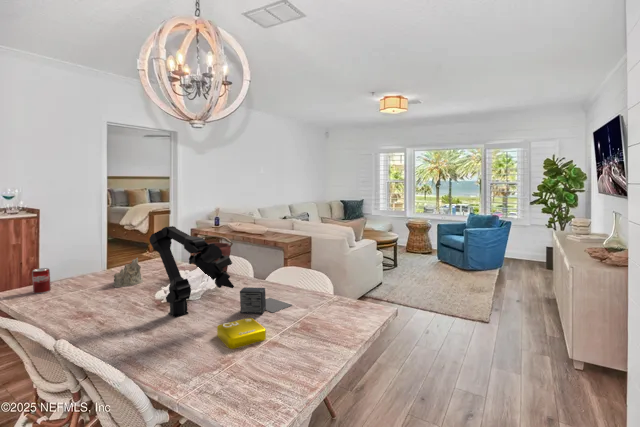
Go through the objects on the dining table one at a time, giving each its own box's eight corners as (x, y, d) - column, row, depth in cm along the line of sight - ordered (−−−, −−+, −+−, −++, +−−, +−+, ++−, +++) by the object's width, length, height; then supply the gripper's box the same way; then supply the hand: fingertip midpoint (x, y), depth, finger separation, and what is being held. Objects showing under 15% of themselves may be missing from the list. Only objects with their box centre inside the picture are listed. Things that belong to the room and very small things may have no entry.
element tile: (230, 351, 126) (229, 338, 125) (215, 335, 138) (215, 323, 137) (267, 340, 134) (267, 328, 134) (251, 326, 147) (251, 315, 146)
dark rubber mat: (272, 313, 161) (272, 312, 161) (249, 304, 171) (249, 304, 171) (292, 305, 171) (292, 304, 171) (269, 298, 181) (269, 297, 181)
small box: (266, 308, 165) (266, 287, 164) (262, 314, 159) (262, 291, 157) (244, 308, 166) (243, 286, 165) (240, 313, 160) (239, 291, 158)
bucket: (238, 271, 231) (238, 234, 228) (220, 281, 210) (219, 239, 207) (206, 268, 237) (205, 232, 235) (185, 277, 216) (184, 237, 214)
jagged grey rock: (138, 276, 216) (136, 253, 213) (146, 284, 203) (143, 259, 201) (109, 283, 206) (106, 258, 203) (115, 291, 193) (112, 264, 191)
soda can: (35, 290, 188) (34, 268, 186) (52, 289, 191) (51, 267, 190) (31, 294, 181) (29, 272, 180) (48, 293, 184) (47, 270, 183)
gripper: (224, 254, 142) (251, 278, 147) (216, 246, 158) (241, 268, 164) (204, 276, 139) (232, 299, 145) (198, 265, 156) (224, 286, 162)
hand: (233, 287), depth 154 cm, fingers closed
